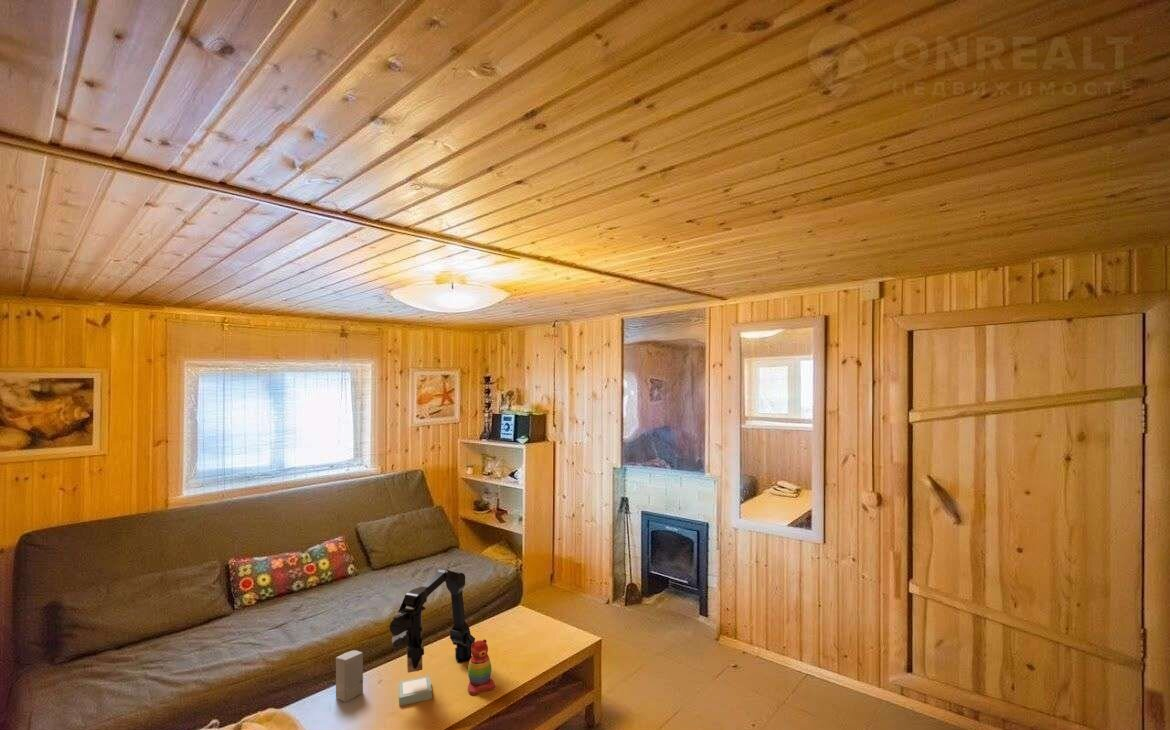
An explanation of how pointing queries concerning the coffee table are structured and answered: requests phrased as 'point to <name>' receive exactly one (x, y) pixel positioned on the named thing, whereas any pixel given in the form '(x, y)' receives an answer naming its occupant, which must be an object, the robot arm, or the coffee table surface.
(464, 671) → the coffee table surface
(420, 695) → the base slab
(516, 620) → the coffee table surface
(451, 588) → the robot arm
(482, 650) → the stacking bear
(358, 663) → the skincare box
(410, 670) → the walnut cube
